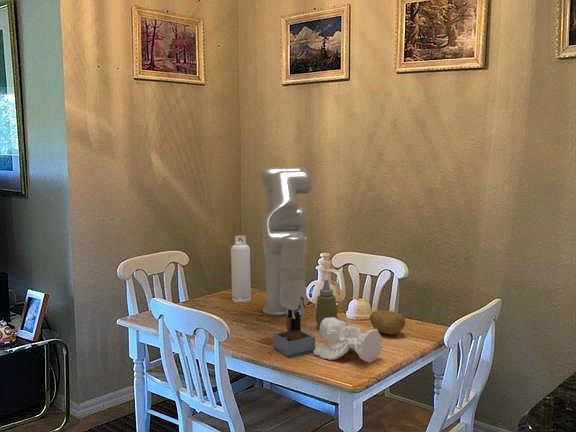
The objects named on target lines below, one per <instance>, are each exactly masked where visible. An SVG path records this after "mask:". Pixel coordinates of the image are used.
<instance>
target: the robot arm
mask: <svg viewBox="0 0 576 432" xmlns="http://www.w3.org/2000/svg"><path fill="white" fill-rule="evenodd" d="M312 180H313V179H312V176H311V174H310V172H309V171H308V170H307V169H306V168H305V167H303V166H290V167H289V166H288V167H287V166H281V167H279V166H275V167H265V168H264V169H262V170H261V172H260V182H261V185H262V187H263V190H264V192H265V196H266V217H265V219H264V222H263V225H262V233H263V234H262V235H263V242H262V243H263V245H262V246H263V252H264V253H263V254H264V257H265V258H264V259H265V260H264V261H265V281H266V282H265V284H266V286H265V287H266V289H265V290H266V291H265V293H266V298H265V300H264V302H265V303H266V306H264V307H263V308H262V312H263V313H264V314H266V315H268V316H269V315H270V316H286V318H290V317H292V319H291V330H292V331H296V330H300V329H301V323H302V322H301V319H302V315H305V314H306V310H305V309H306V308H307V290H306V289H307V288H306V287H307V286H306V281H305V278H306V267H305V266H306V264H305V259H306V258H305V257H306V256H305V255H306V254H307V251H308V233H309V232H308V228H309V227H308V226H309V225H308V224H309V223H308V213H307V211H306V209H305V208H304V207H302V206H299V204H298V203H299V202H298V197H297V196H298V195H305V194H306V195H307V194H309V193H310V192H311V191H312V187H313V181H312ZM297 194H298V195H297ZM301 330H302V329H301Z"/></svg>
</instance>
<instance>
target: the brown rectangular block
mask: <svg viewBox="0 0 576 432" xmlns="http://www.w3.org/2000/svg"><path fill="white" fill-rule="evenodd" d="M291 319H292V317H290V318H287V317H286V318H285V322H286V323H285V325H286V331H287V336H288V341H293V340H298V339H301V330H302V329H300V330H296V331H292V330H291Z"/></svg>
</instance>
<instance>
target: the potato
mask: <svg viewBox="0 0 576 432" xmlns="http://www.w3.org/2000/svg"><path fill="white" fill-rule="evenodd" d="M369 318H370V324H371V325H372V327H373V329H377V330H378V332H379V333H382V334H384V335H396V334H398V333H400V332H401V331H402V330H403V329H404V328H405V326H406V319H405V317H404V316H403V315H402V314H401V313H398V312H395V311H392V310H385V309H377V310H375V311H372V312H371V313H370V317H369Z"/></svg>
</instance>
